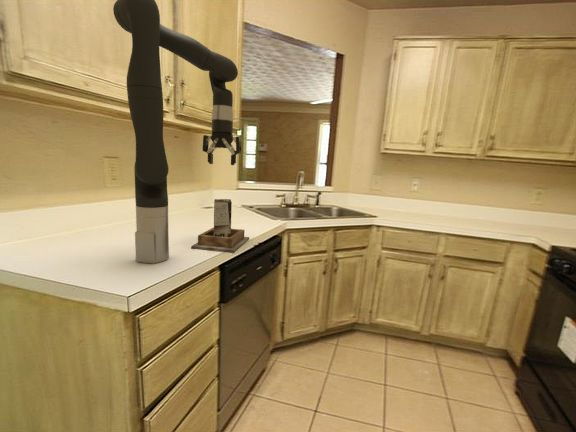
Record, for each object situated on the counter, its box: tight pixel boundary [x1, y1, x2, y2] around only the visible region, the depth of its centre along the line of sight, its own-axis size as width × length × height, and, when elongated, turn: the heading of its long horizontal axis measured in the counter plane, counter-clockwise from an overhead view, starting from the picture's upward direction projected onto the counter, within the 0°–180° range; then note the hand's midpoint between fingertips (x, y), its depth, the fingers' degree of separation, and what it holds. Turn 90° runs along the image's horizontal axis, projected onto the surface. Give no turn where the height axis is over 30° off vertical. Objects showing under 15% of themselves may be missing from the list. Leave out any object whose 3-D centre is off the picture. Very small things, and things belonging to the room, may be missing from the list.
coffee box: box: [213, 198, 233, 237], centre depth 118 cm, size 9×6×16 cm
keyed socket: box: [190, 226, 250, 254], centre depth 119 cm, size 16×20×4 cm
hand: (221, 164), depth 115 cm, fingers open, 8 cm apart
